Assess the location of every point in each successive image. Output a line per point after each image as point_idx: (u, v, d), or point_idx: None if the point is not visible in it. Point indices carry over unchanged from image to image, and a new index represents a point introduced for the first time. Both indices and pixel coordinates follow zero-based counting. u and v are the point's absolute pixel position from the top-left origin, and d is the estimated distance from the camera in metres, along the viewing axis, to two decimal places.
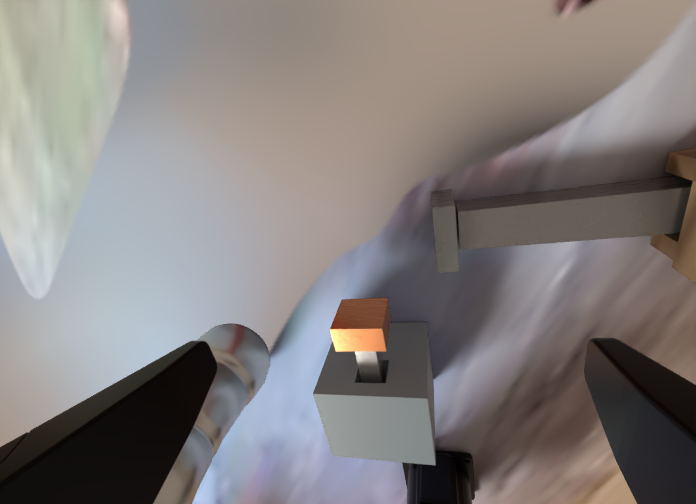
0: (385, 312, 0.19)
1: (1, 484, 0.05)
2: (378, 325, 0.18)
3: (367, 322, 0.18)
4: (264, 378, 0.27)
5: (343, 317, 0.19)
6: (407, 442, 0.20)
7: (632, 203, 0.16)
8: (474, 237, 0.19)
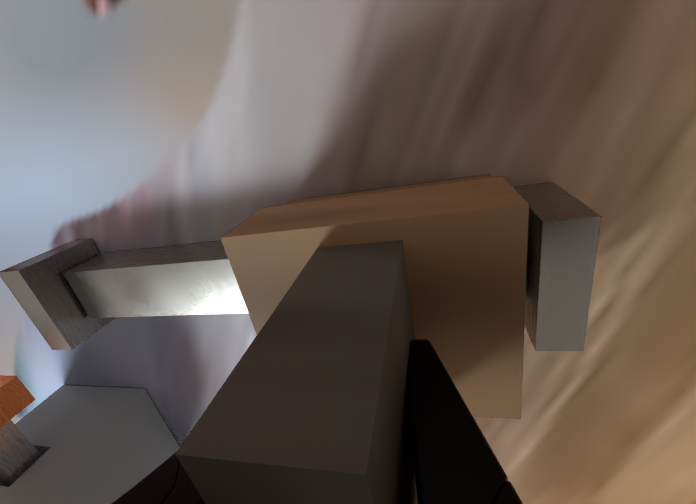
0: None
1: None
2: None
3: None
4: None
5: None
6: None
7: None
8: (96, 304, 0.15)
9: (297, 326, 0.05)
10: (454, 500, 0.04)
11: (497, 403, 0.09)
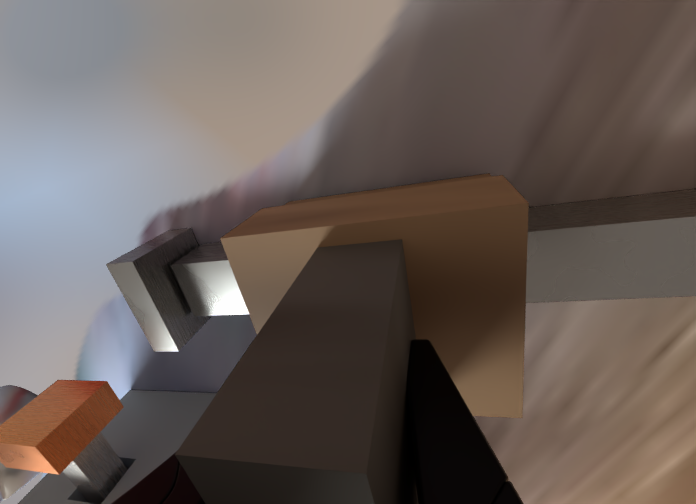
0: (78, 410, 0.13)
1: None
2: (39, 438, 0.12)
3: (33, 430, 0.12)
4: None
5: (21, 416, 0.13)
6: None
7: None
8: (204, 300, 0.13)
9: (297, 326, 0.05)
10: (455, 500, 0.04)
11: (499, 402, 0.09)
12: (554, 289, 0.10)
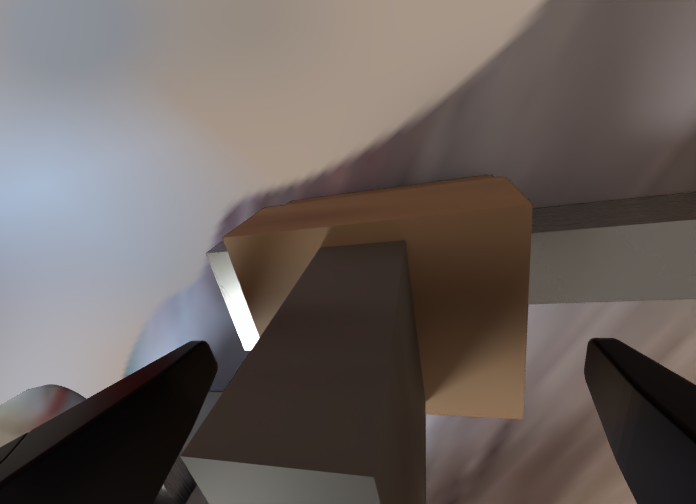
0: None
1: (1, 484, 0.05)
2: None
3: None
4: None
5: None
6: None
7: (533, 250, 0.09)
8: None
9: (301, 327, 0.05)
10: None
11: (500, 403, 0.09)
12: None
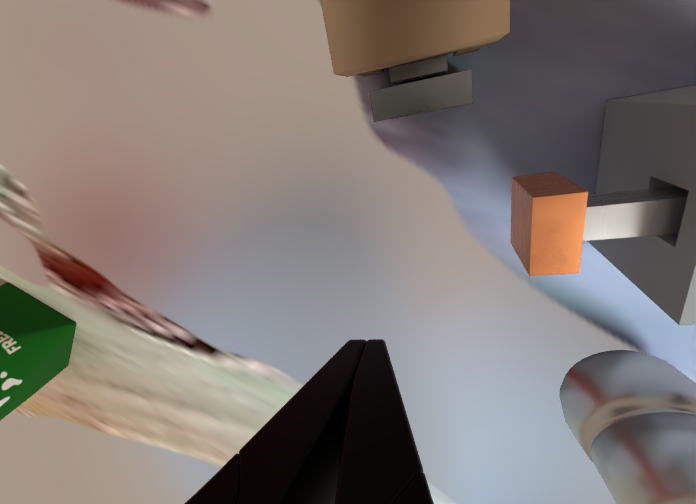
0: (523, 185, 0.12)
1: None
2: (530, 201, 0.11)
3: (527, 217, 0.12)
4: (673, 375, 0.17)
5: (522, 249, 0.13)
6: None
7: None
8: None
9: None
10: (367, 490, 0.04)
11: None
12: None
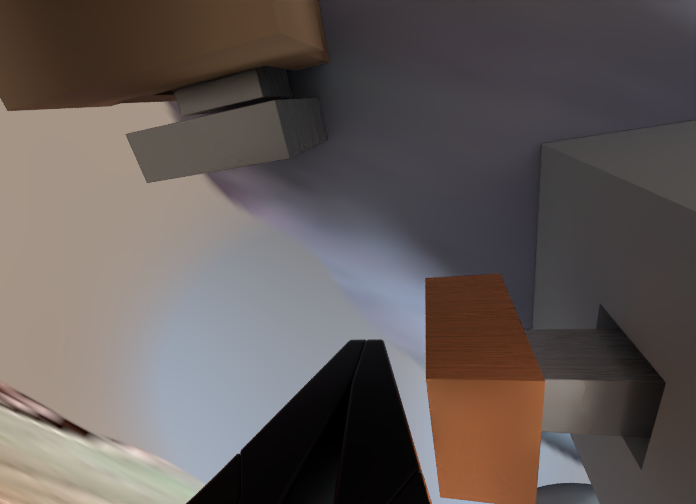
0: (431, 314, 0.06)
1: None
2: (427, 373, 0.05)
3: None
4: None
5: None
6: None
7: None
8: None
9: None
10: (366, 489, 0.04)
11: None
12: None
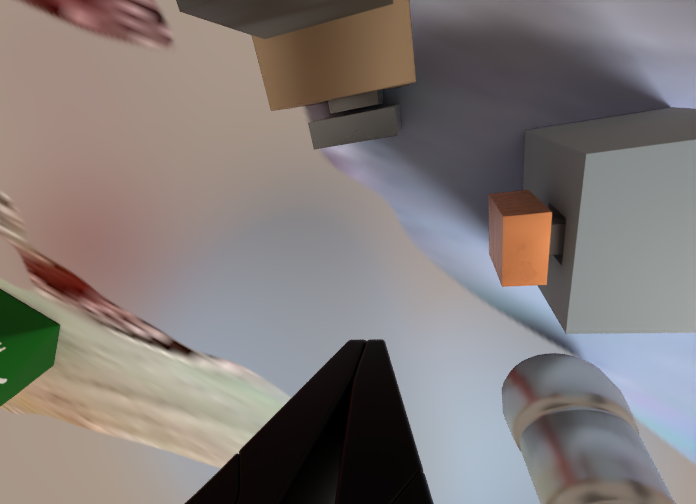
0: (497, 203, 0.13)
1: None
2: (501, 219, 0.12)
3: (499, 233, 0.13)
4: (593, 376, 0.18)
5: (497, 262, 0.14)
6: None
7: None
8: None
9: None
10: (367, 490, 0.04)
11: None
12: None
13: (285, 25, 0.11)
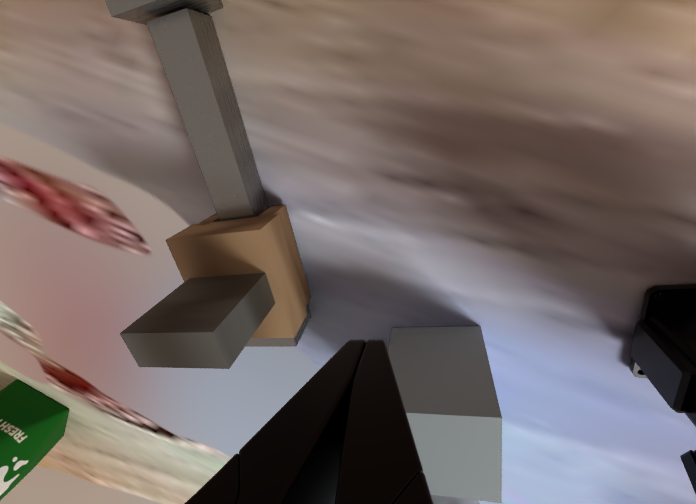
0: None
1: None
2: None
3: None
4: None
5: None
6: (458, 436, 0.17)
7: (222, 206, 0.20)
8: None
9: None
10: (367, 489, 0.04)
11: (253, 240, 0.17)
12: (214, 117, 0.17)
13: None
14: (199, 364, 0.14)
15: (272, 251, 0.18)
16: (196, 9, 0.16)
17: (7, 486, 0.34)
